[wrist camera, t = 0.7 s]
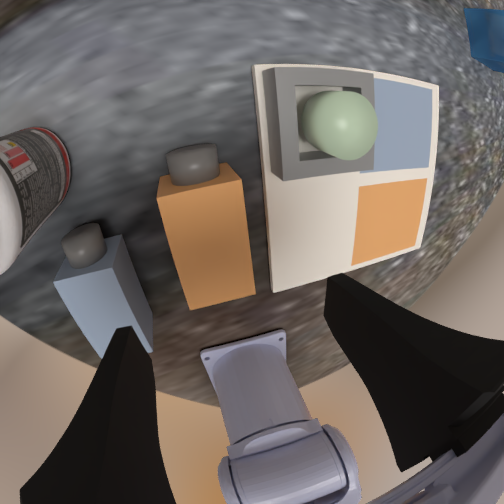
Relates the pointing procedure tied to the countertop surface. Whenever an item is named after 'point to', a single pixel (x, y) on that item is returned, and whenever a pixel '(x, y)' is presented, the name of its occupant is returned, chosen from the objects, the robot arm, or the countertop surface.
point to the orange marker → (206, 226)
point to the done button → (340, 124)
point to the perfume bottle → (486, 36)
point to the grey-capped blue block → (102, 287)
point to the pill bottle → (29, 186)
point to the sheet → (352, 187)
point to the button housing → (286, 125)
